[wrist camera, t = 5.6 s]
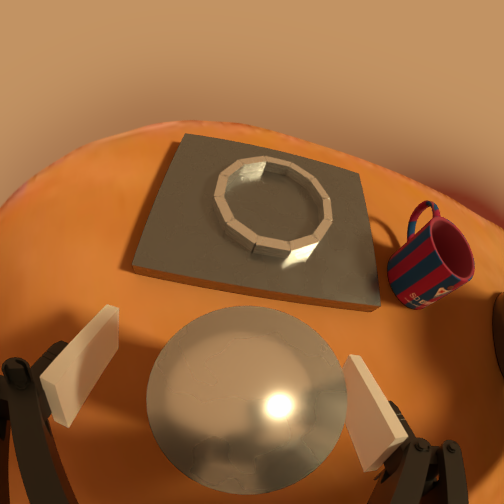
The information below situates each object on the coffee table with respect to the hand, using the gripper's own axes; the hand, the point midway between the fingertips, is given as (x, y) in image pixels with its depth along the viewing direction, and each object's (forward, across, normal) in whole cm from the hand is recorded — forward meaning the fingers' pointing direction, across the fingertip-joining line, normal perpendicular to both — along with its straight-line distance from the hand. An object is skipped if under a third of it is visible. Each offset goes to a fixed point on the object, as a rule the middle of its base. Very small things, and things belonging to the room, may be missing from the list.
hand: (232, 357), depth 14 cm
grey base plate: (+13, +2, +6) cm, 15 cm away
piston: (+2, 0, -5) cm, 5 cm away
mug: (+12, +18, +5) cm, 22 cm away
